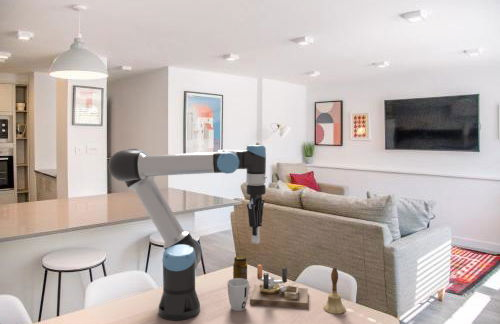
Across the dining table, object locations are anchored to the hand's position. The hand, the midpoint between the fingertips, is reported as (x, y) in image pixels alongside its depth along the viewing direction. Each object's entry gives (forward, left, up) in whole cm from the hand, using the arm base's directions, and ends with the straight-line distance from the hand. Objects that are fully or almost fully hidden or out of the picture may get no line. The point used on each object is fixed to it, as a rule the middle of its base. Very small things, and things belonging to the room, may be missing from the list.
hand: (255, 242), depth 156 cm
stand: (+10, 0, -22) cm, 24 cm away
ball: (+11, 0, -20) cm, 23 cm away
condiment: (-8, +11, -23) cm, 26 cm away
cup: (-5, -11, -23) cm, 26 cm away
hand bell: (+31, -6, -23) cm, 39 cm away
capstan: (+7, 0, -20) cm, 21 cm away
